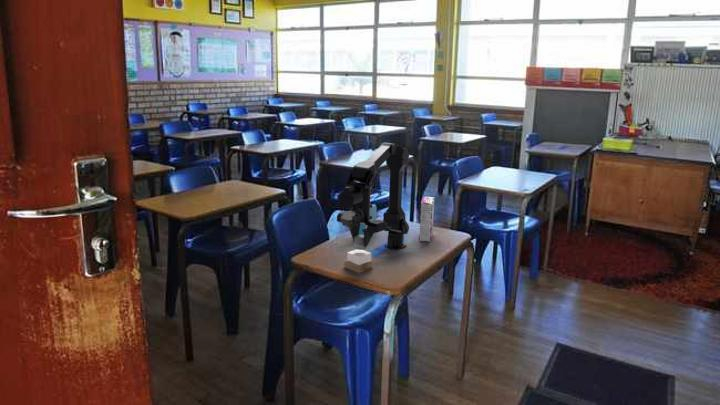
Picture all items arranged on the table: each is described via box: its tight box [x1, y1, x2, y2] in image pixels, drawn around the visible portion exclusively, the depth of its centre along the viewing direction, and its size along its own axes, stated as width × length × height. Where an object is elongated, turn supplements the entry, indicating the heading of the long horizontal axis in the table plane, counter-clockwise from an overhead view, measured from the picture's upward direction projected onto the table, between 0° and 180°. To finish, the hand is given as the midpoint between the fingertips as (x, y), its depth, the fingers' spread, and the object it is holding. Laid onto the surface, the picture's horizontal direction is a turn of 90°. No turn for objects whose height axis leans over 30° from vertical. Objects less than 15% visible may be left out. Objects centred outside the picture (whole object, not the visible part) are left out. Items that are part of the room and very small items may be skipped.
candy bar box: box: [418, 196, 435, 243], centre depth 221 cm, size 11×5×16 cm, turn 168°
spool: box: [353, 235, 368, 250], centre depth 186 cm, size 4×4×4 cm
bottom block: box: [343, 259, 373, 274], centre depth 188 cm, size 7×7×3 cm
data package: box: [359, 203, 377, 235], centre depth 224 cm, size 12×4×12 cm, turn 156°
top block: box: [346, 249, 372, 265], centre depth 187 cm, size 6×6×3 cm
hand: (360, 244), depth 186 cm, fingers closed on spool, 4 cm apart
